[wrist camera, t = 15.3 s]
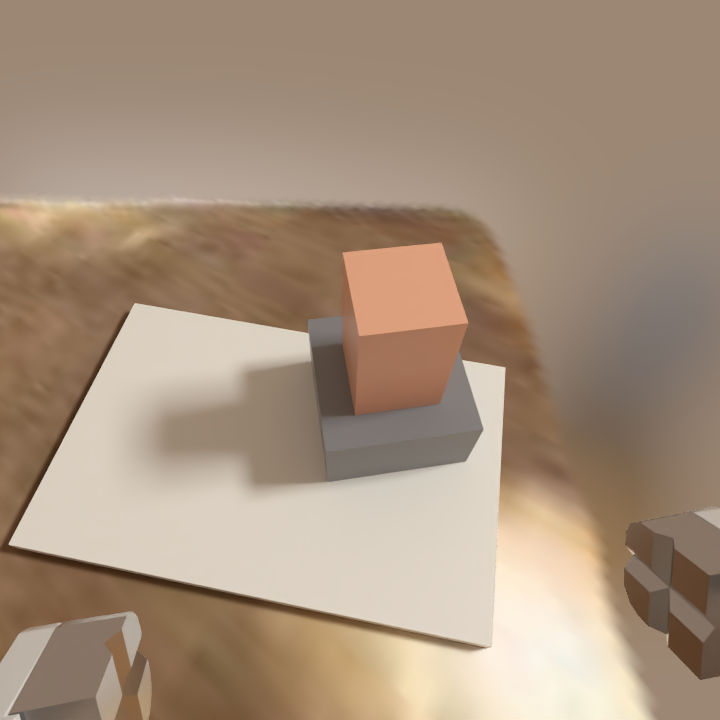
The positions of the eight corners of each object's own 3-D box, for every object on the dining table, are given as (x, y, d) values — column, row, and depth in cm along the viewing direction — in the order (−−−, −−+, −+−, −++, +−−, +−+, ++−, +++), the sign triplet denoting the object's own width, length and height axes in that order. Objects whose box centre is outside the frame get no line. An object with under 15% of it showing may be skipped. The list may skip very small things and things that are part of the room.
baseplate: (17, 548, 31) (8, 544, 31) (139, 311, 41) (134, 303, 40) (487, 647, 29) (491, 646, 29) (501, 374, 39) (505, 367, 38)
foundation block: (327, 482, 33) (325, 452, 29) (311, 361, 38) (307, 319, 34) (465, 461, 34) (483, 429, 30) (433, 346, 39) (444, 304, 35)
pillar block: (355, 415, 30) (359, 336, 23) (342, 343, 33) (342, 252, 26) (439, 403, 31) (468, 323, 24) (420, 333, 33) (441, 242, 26)
